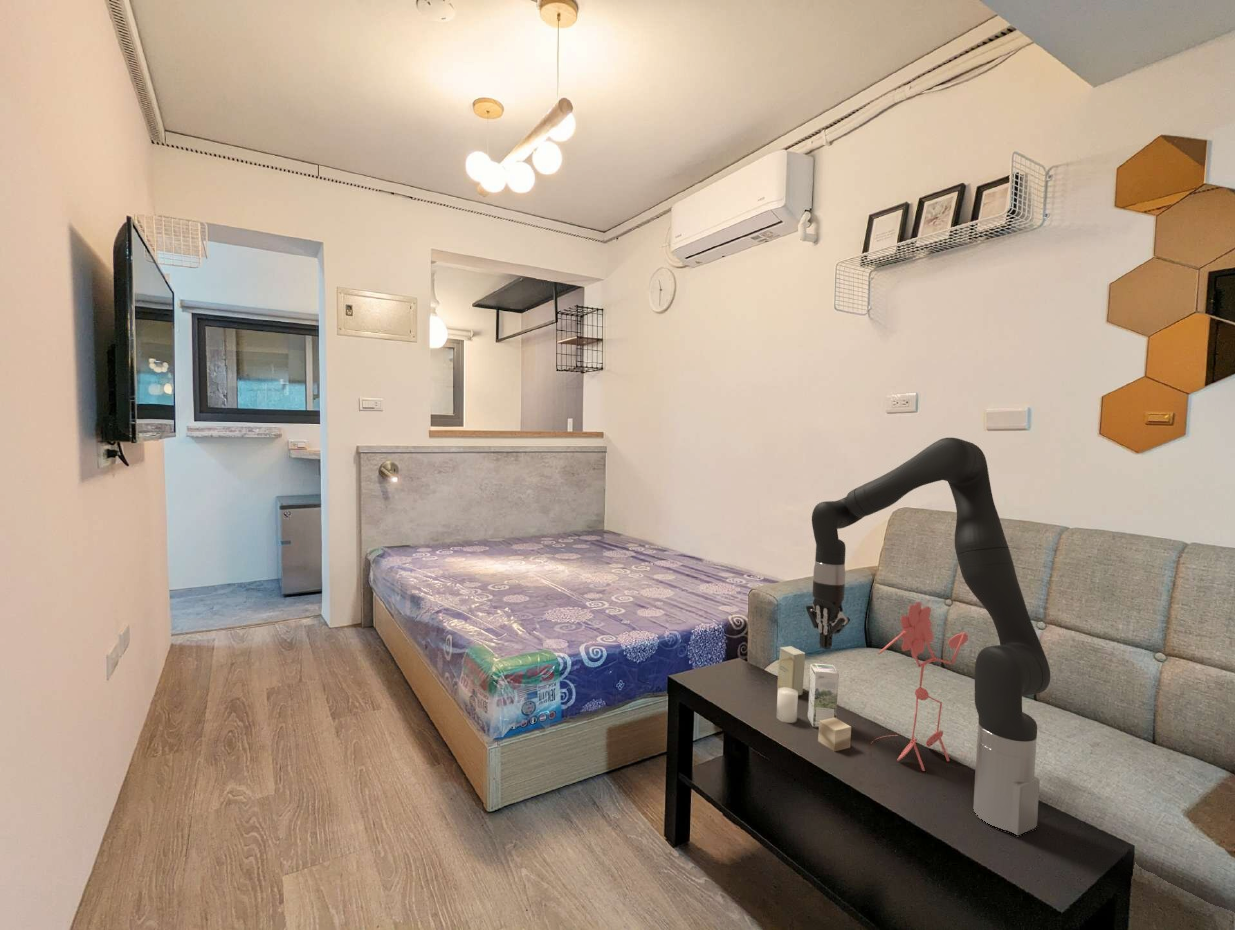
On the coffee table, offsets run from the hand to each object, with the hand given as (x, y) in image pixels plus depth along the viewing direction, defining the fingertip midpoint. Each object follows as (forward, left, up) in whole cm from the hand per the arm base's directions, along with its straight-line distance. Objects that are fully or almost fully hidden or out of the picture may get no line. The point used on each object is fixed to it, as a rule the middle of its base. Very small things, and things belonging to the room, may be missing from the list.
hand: (825, 647), depth 146 cm
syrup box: (0, 0, -20) cm, 20 cm away
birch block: (-9, +5, -20) cm, 22 cm away
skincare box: (+18, -6, -20) cm, 27 cm away
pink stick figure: (-18, -9, -20) cm, 28 cm away
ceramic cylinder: (+5, +7, -19) cm, 21 cm away
